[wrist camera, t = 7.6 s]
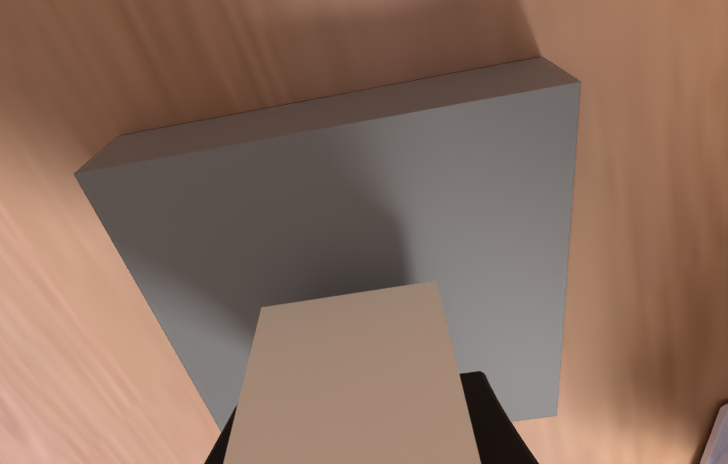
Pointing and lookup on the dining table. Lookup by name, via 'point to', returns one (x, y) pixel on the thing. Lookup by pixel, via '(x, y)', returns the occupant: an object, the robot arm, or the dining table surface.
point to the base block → (359, 219)
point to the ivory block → (354, 384)
